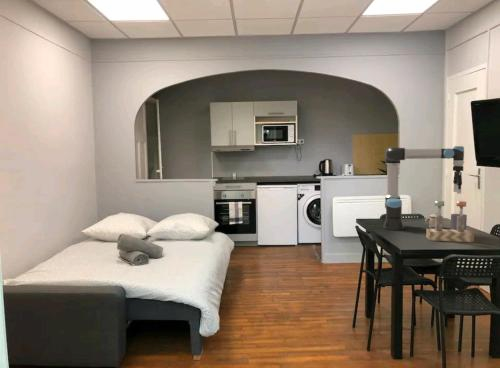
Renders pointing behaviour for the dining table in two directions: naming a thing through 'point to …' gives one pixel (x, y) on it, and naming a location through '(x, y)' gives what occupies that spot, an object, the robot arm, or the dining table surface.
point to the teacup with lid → (432, 220)
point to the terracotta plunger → (461, 207)
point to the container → (454, 221)
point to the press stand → (450, 232)
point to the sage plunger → (439, 206)
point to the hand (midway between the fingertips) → (457, 192)
